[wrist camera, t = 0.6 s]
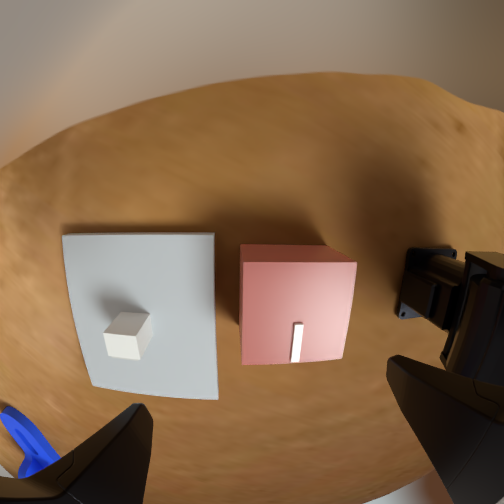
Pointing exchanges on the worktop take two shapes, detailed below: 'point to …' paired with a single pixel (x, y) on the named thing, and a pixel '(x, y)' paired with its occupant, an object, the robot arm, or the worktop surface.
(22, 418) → the bracket
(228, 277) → the worktop surface
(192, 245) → the peg base plate
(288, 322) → the pink slotted box
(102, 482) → the robot arm
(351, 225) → the worktop surface
